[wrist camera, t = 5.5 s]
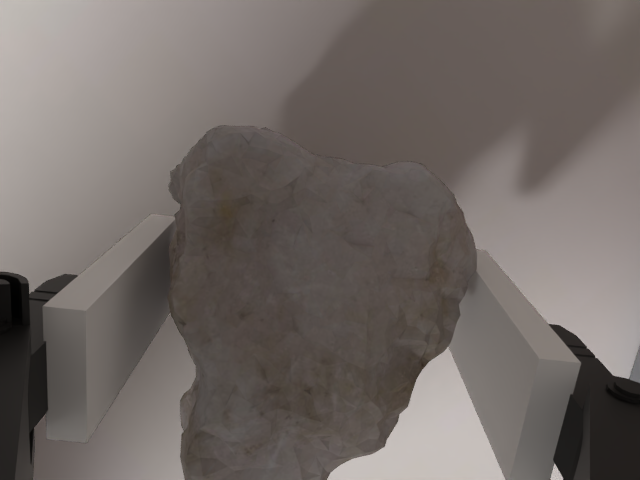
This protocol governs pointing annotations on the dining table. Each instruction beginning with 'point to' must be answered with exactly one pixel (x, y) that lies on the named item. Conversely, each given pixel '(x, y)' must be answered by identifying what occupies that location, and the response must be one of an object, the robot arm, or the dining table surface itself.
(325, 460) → the stone
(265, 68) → the dining table surface
